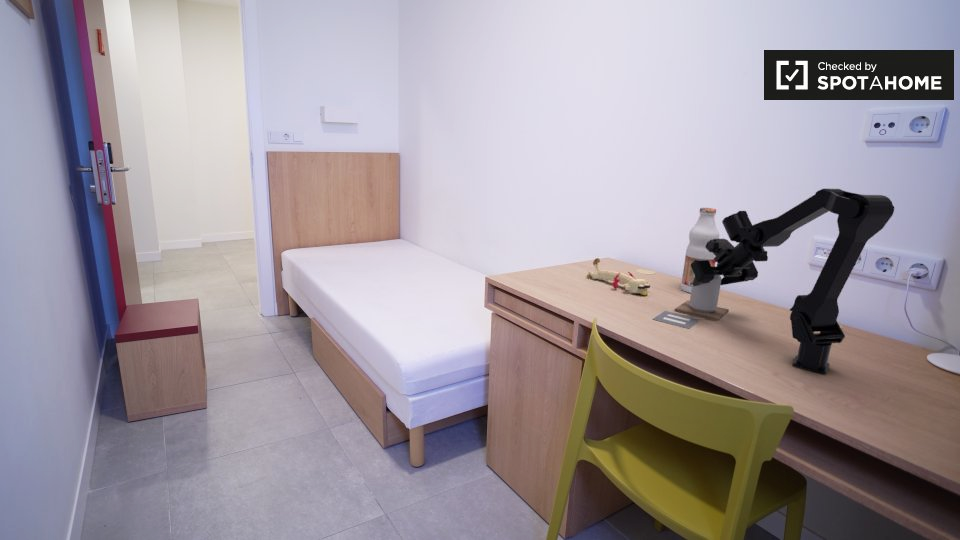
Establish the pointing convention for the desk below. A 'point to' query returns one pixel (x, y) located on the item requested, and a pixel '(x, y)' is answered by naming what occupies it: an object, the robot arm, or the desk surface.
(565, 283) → the desk surface
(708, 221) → the fruit juice
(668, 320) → the tile
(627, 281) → the cream voxel animal
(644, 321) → the desk surface
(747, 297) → the desk surface
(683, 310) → the board
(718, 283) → the can
